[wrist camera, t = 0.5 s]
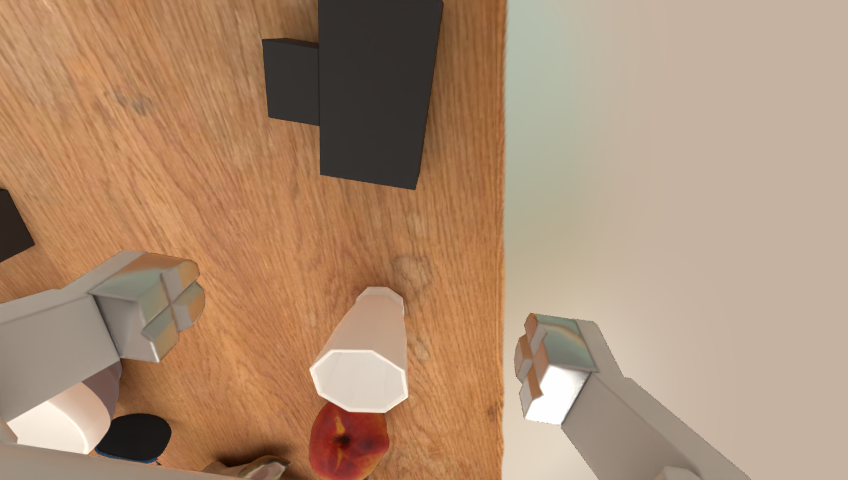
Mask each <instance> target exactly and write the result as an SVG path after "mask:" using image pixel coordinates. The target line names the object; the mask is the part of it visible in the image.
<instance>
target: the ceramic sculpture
mask: <svg viewBox="0 0 848 480" xmlns="http://www.w3.org/2000/svg"><path fill="white" fill-rule="evenodd" d="M290 465H291V462H290V461H288V460H286V459H283V458H281V457H278V456H273V455H265V456H262V457H260V458H258V459H256V460H255V461H253V462H252V463H249V464H244V465H240V466H235V467H229V468H228V467H227V466H226V465H224V464H223V463H221V462H219V461H216V462H213V463H211V464H210V465H208V466H207V467H206V468H205V469H204V470H203V471H202V472H205V473H212V474H218V475H225V476H231V477H238V478H244V479H251V480H281V479H280V476H281V475H282V473H283V472H284V471H285V469H286V468H287V467H289V466H290Z"/></svg>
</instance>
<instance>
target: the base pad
mask: <svg viewBox="0 0 848 480" xmlns="http://www.w3.org/2000/svg"><path fill="white" fill-rule="evenodd" d="M34 245H35V244H34V243H33V241H32V239H31V237H30V235H29V233H28V231H27V229H26V227H25V225H24V223H23V221H22V219H21V217H20V215H19V213H18V211H17V209H16V207H15V205H14V203H13V201H12V199H11V197H10V195H9V194H8V192H7V190H3V189H0V262H2V261H4V260H6V259H8V258H10V257H12V256H14V255H16V254H18V253H20V252H22V251H24V250H26V249H28V248H30V247H32V246H34Z"/></svg>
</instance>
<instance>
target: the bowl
mask: <svg viewBox="0 0 848 480" xmlns="http://www.w3.org/2000/svg"><path fill="white" fill-rule="evenodd" d="M121 374H122V365H121V362H120V360H119V361H117V362H116V363H114V364H112V365H110V366H108V367H107V368H105V369H103V370H101V371H99V372H98V373H96V374H94V375H92V376H90V377H88V378H87V379H85V380H83V381H81V382H79V383H78V384H76V385H74V386H72V387H70V388H69V389H67V390H65V391H63V392H61V393H60V394H58V395H56V396H54V397H52V398H51V399H49V400H47V401H45V402H43V403H42V404H40V405H38V406H36V407H34V408H32V409H31V410H29V411H27V412H25V413H23V414H22V415H20V416H18V417H16V418H14V419H13V420H11V421H9V422H7V424H8V426H9V427H10V428H11V429H12V431H13V432H14V433H15V435H16V436H17V437H18V440H17V444H22V445H28V446H35V447H41V448H48V449H55V450H61V451H68V452H74V453H81V454H88V453H89V452H90V451H91V450H92V449H93V448H94V447H95V446H96V445H97V444H98V443H99V442H100V441H101V439H102V438H103V437H104V435H105V434H106V433H107V431H108V429H109V427H110V423H111V420H112V418H113V415H114V413H115V404H116V401H117V399H118V397H119V389H120V386H119V380H120V377H121Z"/></svg>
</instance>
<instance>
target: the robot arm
mask: <svg viewBox="0 0 848 480" xmlns="http://www.w3.org/2000/svg"><path fill="white" fill-rule="evenodd" d="M199 276H200V272H199V269H198V265H197V263H196V262H194V261H192V260H189V259H183V258H178V257H172V256H166V255H161V254H155V253H148V252H142V251H136V250H124V251H121V252H119V253H117V254H116V255H114V256H113V257H111V258H109V259H108V260H106V261H105V262H103V263H102V264H100V265H98V266H97V267H95V268H94V269H92V270H90V271H89V272H87V273H86V274H84V275H83V276H81V277H79V278H78V279H76V280H75V281H73V282H71V283H70V284H68V285H67V286H65V287H64V288H62V289H60V290H59V289H50V290H46V291H43V292H39V293H36V294H33V295H29V296H26V297H22V298H19V299H15V300H12V301H8V302H5V303H1V304H0V480H251V479H244V478H238V477H231V476H225V475H218V474H212V473H205V472H198V471H192V470H185V469H179V468H172V467H166V466H159V465H153V464H146V463H140V462H133V461H126V460H120V459H113V458H107V457H100V456H94V455H87V454H81V453H74V452H68V451H61V450H55V449H48V448H41V447H35V446H28V445H22V444H17V440H18V437H17V436H16V435H15V433H14V432H13V431H12V429H11V428H10V427H9V426H8V424H7V422H9V421H11V420H13V419H14V418H16V417H18V416H20V415H22V414H23V413H25V412H27V411H29V410H31V409H32V408H34V407H36V406H38V405H40V404H42V403H43V402H45V401H47V400H49V399H51V398H52V397H54V396H56V395H58V394H60V393H61V392H63V391H65V390H67V389H69V388H70V387H72V386H74V385H76V384H78V383H79V382H81V381H83V380H85V379H87V378H88V377H90V376H92V375H94V374H96V373H98V372H99V371H101V370H103V369H105V368H107V367H108V366H110V365H112V364H114V363H116V362H117V361H119V360H120V358H126V359H134V360H142V361H150V362H158V363H159V362H160V361H161V360H162V359H163V358H164V357H165V355H166V354H167V353H168V352H169V351H170V350H171V349H172V348H173V347H174V346H175V345H176V343H177V342H178V341H179V332H181V331H183V330H185V329H188V328H190V327H192V326H193V325H194V324H195V322H196V321H197V320H198V319H199V318H200V316H201V313H202V311H203V309H204V306H205V294H204V289H203V288H202V287H201V286H200V285H199V284H198V283H197V282H196V280H197V278H198V277H199ZM524 326H525V330H526V334H525V335H524V336H522V337H520V338H519V340H518V343H517V346H516V351H515V358H514V361H515V362H514V363H515V372H516V377H517V378H518V379H519V381H520V382H521V383H522V384H523V385H522V387H521V390H520V392H519V394H520V400H521V405H522V410H523V416H524V419H526V420H532V421H537V422H543V423H548V424H554V425H559V426H561V429H562V430H563V431H564V433H565V434H566V435H567V437H568V438H569V439H570V441H571V442H572V444H573V445H574V446H575V448H576V449H577V450H578V452H579V453H580V454H581V456H582V457H583V459H584V460H585V461H586V463H587V464H588V465H589V467H590V468H591V469H592V471H593V472H594V474H595V475H596V476H597V478H598V479H599V480H751V479H750V478H749V477H748V476H747V475H746V474H745V473H744V472H742V471H741V470H740V469H739V468H738V467H736V466H735V465H734V464H733V463H732V462H730V461H729V460H728V459H727V458H726V457H724V456H723V455H722V454H721V453H720V452H718V451H717V450H716V449H715V448H714V447H712V446H711V445H710V444H709V443H708V442H706V441H705V440H704V439H703V438H702V437H700V436H699V435H698V434H697V433H696V432H694V431H693V430H692V429H691V428H690V427H688V426H687V425H686V424H685V423H684V422H683V421H681V420H680V419H679V418H678V417H677V416H675V415H674V414H673V413H672V412H670V411H669V410H668V409H667V408H666V407H665V406H663V405H662V404H661V403H660V402H659V401H657V400H656V399H655V398H654V397H653V396H651V395H650V394H649V393H648V392H646V391H645V390H644V389H643V388H642V387H641V386H639V385H638V384H637V383H636V382H635V381H633V380H632V379H631V378H626V377H624V376H623V374H622V373H621V371H620V369H619V366H618V365H617V363H616V361H615V359H614V357H613V355H612V353H611V351H610V349H609V347H608V345H607V343H606V341H605V339H604V337H603V335H602V333H601V331H600V329H599V327H598V325H597V324H596V323H594V322H593V321H586V320H579V319H568V318H561V317H554V316H547V315H541V314H534V313H531V314H529V316H528V317H527V319H526V322H525V324H524Z"/></svg>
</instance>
